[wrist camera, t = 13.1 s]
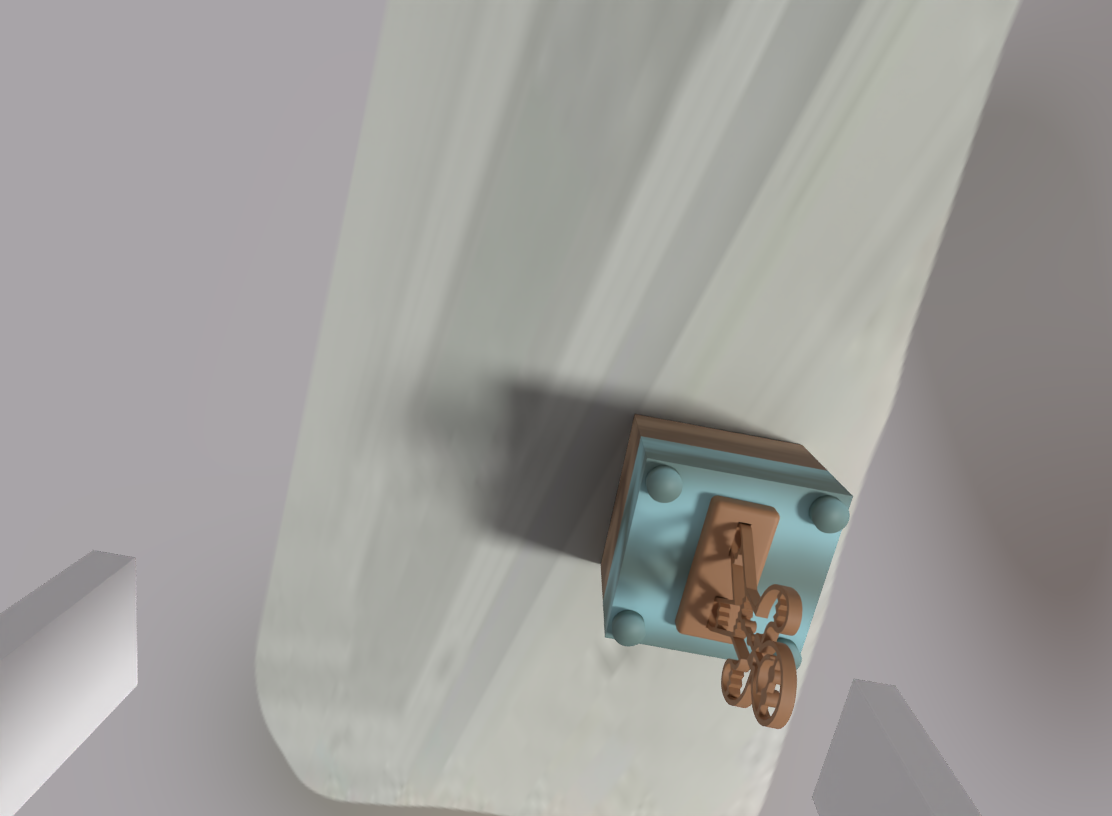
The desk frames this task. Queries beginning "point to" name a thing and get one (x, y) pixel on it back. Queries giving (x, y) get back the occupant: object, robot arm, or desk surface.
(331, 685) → the desk surface
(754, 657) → the lever handle backplate
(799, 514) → the teal and brown block
